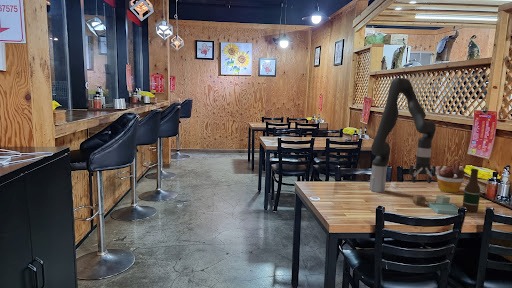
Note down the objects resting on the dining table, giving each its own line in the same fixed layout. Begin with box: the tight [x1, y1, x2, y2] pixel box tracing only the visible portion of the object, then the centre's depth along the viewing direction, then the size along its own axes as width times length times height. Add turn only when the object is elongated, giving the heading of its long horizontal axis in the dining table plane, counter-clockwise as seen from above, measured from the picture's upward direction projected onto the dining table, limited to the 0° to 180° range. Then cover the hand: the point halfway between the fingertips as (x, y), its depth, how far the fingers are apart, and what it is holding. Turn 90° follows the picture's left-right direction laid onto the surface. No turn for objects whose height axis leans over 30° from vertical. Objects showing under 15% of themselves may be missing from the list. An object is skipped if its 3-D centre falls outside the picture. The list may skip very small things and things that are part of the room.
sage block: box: [435, 194, 451, 203], centre depth 206 cm, size 5×5×5 cm
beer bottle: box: [461, 168, 481, 214], centre depth 194 cm, size 8×8×24 cm
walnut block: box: [412, 194, 426, 207], centre depth 205 cm, size 5×5×5 cm
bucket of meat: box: [435, 160, 467, 194], centre depth 236 cm, size 20×16×20 cm
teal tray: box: [426, 201, 460, 215], centre depth 196 cm, size 14×14×2 cm
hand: (421, 182), depth 204 cm, fingers open, 8 cm apart
